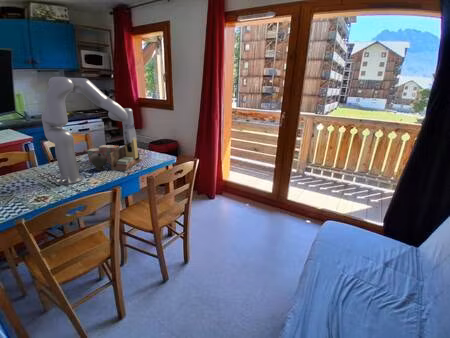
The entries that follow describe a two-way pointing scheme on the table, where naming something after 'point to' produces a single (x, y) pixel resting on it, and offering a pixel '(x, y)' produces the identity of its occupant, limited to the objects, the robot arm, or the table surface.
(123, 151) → the shelf
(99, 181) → the table surface
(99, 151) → the stack of blocks
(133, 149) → the book
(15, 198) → the table surface
